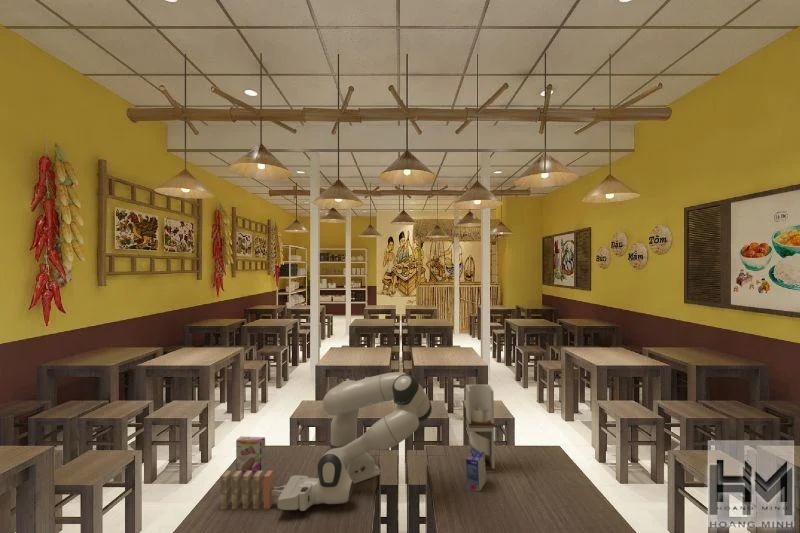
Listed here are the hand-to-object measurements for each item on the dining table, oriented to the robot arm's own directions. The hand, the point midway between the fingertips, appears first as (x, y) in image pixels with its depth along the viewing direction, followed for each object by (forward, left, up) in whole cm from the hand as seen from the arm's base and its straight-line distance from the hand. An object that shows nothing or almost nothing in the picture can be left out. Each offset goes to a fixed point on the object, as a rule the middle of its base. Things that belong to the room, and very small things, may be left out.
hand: (272, 491), depth 178 cm
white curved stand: (-88, +11, -6) cm, 89 cm away
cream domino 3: (+8, -5, -5) cm, 11 cm away
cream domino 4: (+5, -3, -5) cm, 8 cm away
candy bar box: (+2, -30, -6) cm, 30 cm away
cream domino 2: (+12, -7, -5) cm, 14 cm away
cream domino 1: (+15, -9, -5) cm, 18 cm away
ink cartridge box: (-76, +24, -6) cm, 80 cm away
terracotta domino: (+1, -1, -5) cm, 6 cm away
